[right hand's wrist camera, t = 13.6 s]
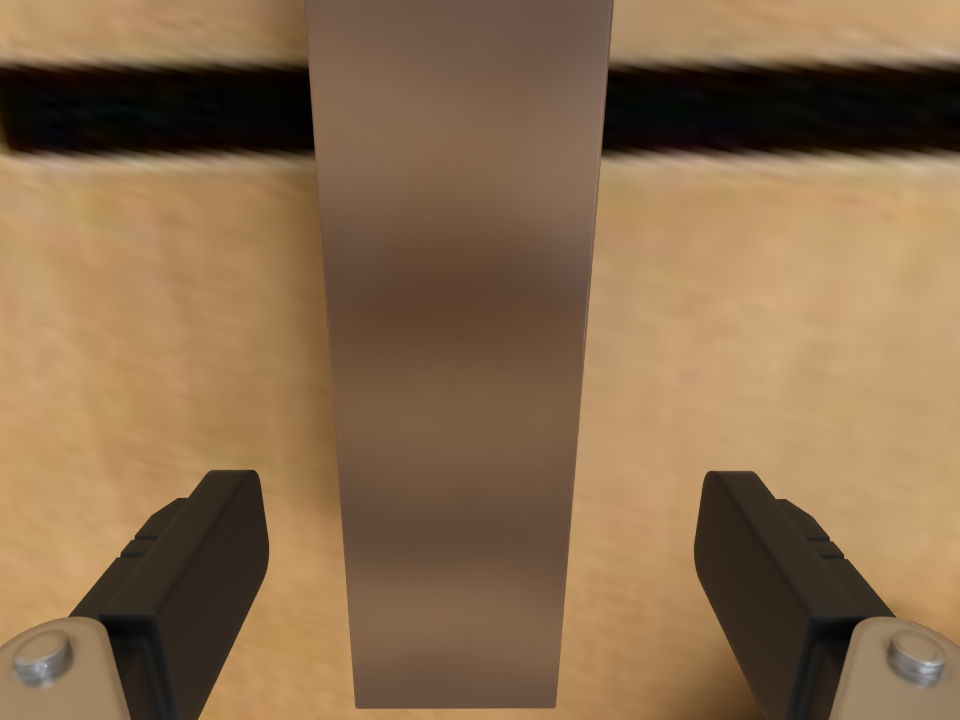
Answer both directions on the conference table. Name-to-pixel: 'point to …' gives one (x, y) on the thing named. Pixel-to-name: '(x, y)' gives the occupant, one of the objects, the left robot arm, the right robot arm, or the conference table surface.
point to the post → (457, 328)
